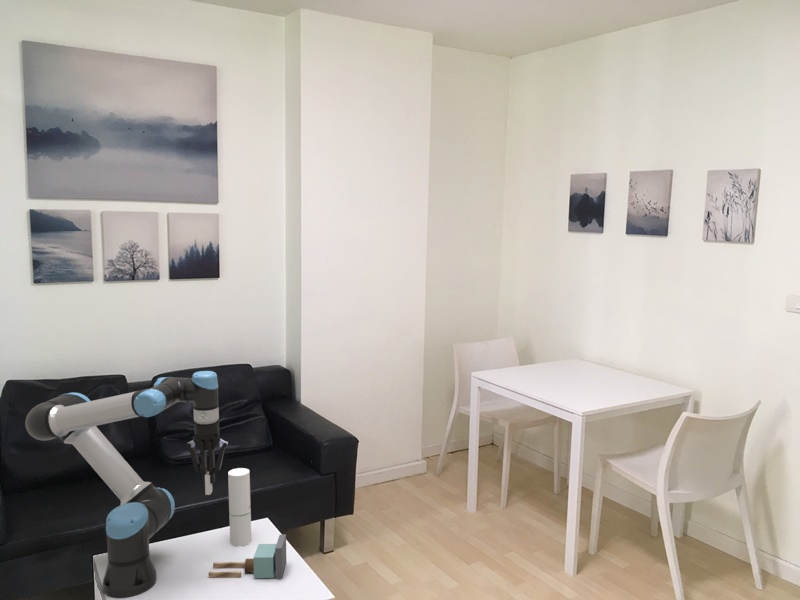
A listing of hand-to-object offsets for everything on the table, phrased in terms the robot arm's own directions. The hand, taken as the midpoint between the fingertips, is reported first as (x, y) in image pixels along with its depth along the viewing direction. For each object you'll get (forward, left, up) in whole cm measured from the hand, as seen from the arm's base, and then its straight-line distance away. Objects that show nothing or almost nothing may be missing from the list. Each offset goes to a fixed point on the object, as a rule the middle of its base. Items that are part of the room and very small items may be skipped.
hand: (208, 492), depth 205 cm
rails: (+6, -4, -24) cm, 25 cm away
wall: (+23, -4, -24) cm, 34 cm away
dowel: (+16, -4, -25) cm, 29 cm away
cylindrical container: (+6, +16, -25) cm, 30 cm away
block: (+18, -4, -24) cm, 31 cm away
